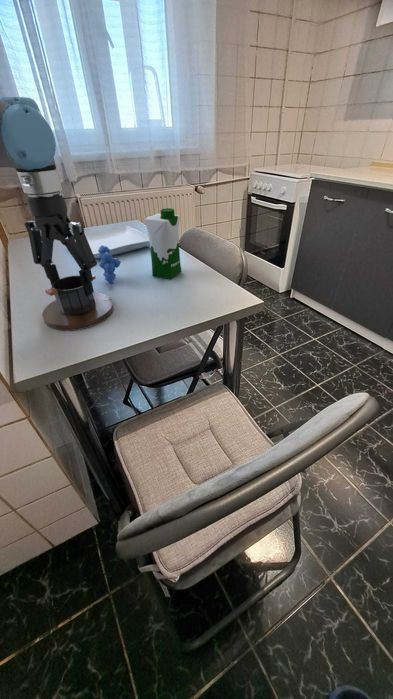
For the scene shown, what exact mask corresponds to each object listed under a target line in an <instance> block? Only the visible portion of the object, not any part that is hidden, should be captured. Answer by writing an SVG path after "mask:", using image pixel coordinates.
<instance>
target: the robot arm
mask: <svg viewBox="0 0 393 699" xmlns="http://www.w3.org/2000/svg"><path fill="white" fill-rule="evenodd" d="M56 144H57V143H56V138H55V134H54V131H53V129H52V127H51V124H50V123H49V121H48V120H47V119H46V117H45V116H44V115H43V113H42V111H41V108H40V105H39V103H38V102H37V101H36V100H35V99H34V98H31V97H25V96H0V168H8V169H9V168H10V169H15V170H16V173H17V176H18V179H19V182H20V185H21V188H22V191H23V193H24V194H25V195H27V196H26V198H25V201H26V203H27V207H28V209H29V212H30V215H31V216H32V217H34V219H31V220H28V221H26V222H25V221H24V223H23V224H24V227H25V229H26V231H27V233H28V239H29V243H30V249H31V254H32V259H33V263H34V264H35V265H40V266H41V267H42V268H43V270H44V273H45V276H46V278H47V279H48V280H49V283H50V285H51V286H52V284H53V283H54V282H56V281H57V280H59V279H61V278H60V274H59V271H58V269H57V265H56V264H55V263H54V261H53V252H54V242H55V240H56V241H58V242H60V243H61V244H62V245H63V246H65V248H66V249H67V251H68V252H69V254H70V255H71V256H72V259H74V261H75V262H76V264H77V266H78V267H79V269H80V270H78V275H80V278H81V282H82V285H83V288H84V292H85V295H86V296H89V295H91V294H92V293H93V292H95V290H94V286H93V282H94V280H93V277H92V275H93V272H92V269H93V268H95V266H97V265H98V263H97V260H96V258H95V257H94V255H93V253H92V250H91V248H90V245H89V243H88V241H87V238H86V236H85V233H86V232H85V228H84V227H85V226H84V224H83V222H81V221H79V222H73V221H71V219H70V218H69V216H68V209H69V208H68V205H67V201H66V198H65V195H64V194H63V193H62V192H61V191H63V186H62V183H61V179H60V176H59V172H58V169H57V165H56V160H55V155H56V150H57V148H56V146H57V145H56Z"/></svg>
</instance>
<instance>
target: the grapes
mask: <svg viewBox="0 0 393 699" xmlns="http://www.w3.org/2000/svg"><path fill="white" fill-rule="evenodd" d="M98 252H99V253H100V256H99V258H98V259H100V263H99V265H98V266H99V267H100V268H101V269H102V270H103V274H102V275H103V276H104V277H105V278H104V280H105V281H106V282H108V283H114V281H115V280H116V276H117V274H116V273H115V271H116V269H117V268H119V267H120V265H121V263H122V261H121V260H120V259H118V258H116V257H114V256H113V255H112V256H111V255H110V254H109V252H110V249H109V248H108V247H106V246H104V245H102V246H101V247H100V248H99V250H98Z"/></svg>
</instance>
